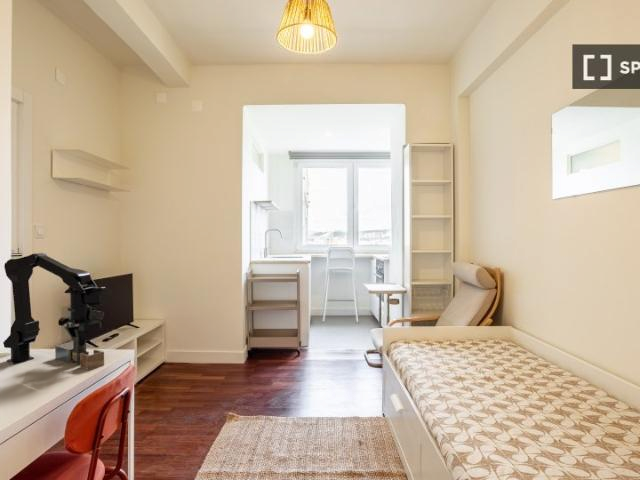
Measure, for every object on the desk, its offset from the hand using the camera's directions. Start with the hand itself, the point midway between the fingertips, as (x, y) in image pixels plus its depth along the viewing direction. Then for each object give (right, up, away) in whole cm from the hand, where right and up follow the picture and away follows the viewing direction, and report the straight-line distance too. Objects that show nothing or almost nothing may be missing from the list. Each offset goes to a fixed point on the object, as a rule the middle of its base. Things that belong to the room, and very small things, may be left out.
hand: (79, 345), depth 139 cm
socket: (+7, -7, -4) cm, 10 cm away
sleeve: (-7, -6, +4) cm, 10 cm away
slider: (-4, -5, +2) cm, 7 cm away
